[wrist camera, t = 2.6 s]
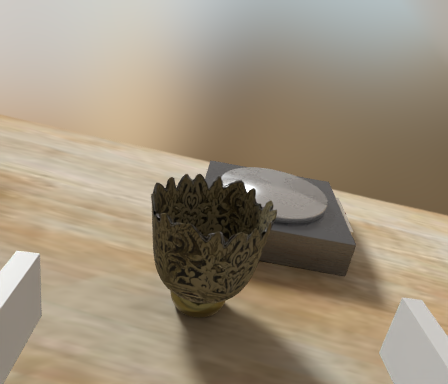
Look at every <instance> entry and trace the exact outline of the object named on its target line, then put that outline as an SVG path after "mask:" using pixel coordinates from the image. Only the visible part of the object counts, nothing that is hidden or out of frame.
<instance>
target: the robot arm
mask: <svg viewBox="0 0 448 384" xmlns="http://www.w3.org/2000/svg"><path fill="white" fill-rule="evenodd" d="M41 316H42V313H41V278H40V254H39V253H31V252H23V251H16V253H15V254H14V255H13V256H12V257H11V259H10V260H9V261H8V262H7V264H6V265H5V266H4V267H3V268H2V270H1V271H0V384H3V383H4V381H5V380H6V378H7V376H8V374H9V373H10V371H11V369H12V367H13V366H14V364H15V362H16V360H17V358H18V357H19V355H20V353H21V351H22V350H23V348H24V346H25V344H26V343H27V341H28V339H29V337H30V335H31V334H32V332H33V330H34V328H35V327H36V325H37V323H38V321H39V320H40V318H41ZM379 354H380V356H381V358H382V360H383V362H384V364H385V366H386V368H387V371H388V373H389V375H390V377H391V379H392V381H393V383H394V384H448V336H447V335H446V333H445V332H444V331H443V329H442V328H441V326H440V325H439V324H438V322H437V321H436V319H435V318H434V316H433V315H432V314H431V312H430V311H429V309H428V308H427V307H426V305H425V304H424V302H423V301H422V300H418V299H409V298H402V300H401V302H400V304H399V307H398V309H397V311H396V314H395V316H394V318H393V321H392V323H391V326H390V328H389V330H388V333H387V335H386V337H385V340H384V342H383V345H382V347H381V349H380V352H379Z"/></svg>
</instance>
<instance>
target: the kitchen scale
mask: <svg viewBox="0 0 448 384" xmlns="http://www.w3.org/2000/svg"><path fill="white" fill-rule="evenodd" d="M218 176H221V179H222V181H223V185H224V186H226V185H228V184H229V183H231V182H235V181H237V180H242V181H243V182H244V185H245V187H246V190H247V192H248V191H249V190H250V189H252V188H254V189H255V190H256V197H255V198H256V203H261V206H262V207H265V204H266V203H267V202H268V201H272V202H273V205H274V206H273V210H274V209H276V210H277V216H276V219H275V221H274V223H273V226H272V228H271V231H270V234H269V236H268V239H267V242H266V244H265V247H264V249H263V252H262V254H261V257H260V259H259V261H264V262H270V263H275V264H281V265H286V266H292V267H297V268H303V269H308V270H314V271H319V272H325V273H330V274H336V275H341V276H345V275H346V272H347V269H348V267H349V264H350V261H351V258H352V255H353V253H354V250H355V247H356V244H355V242H354V240H353V237H352V235H353V230H352V228H351V225H350V223H349V221H348V219H347V216H346V213H345V212H344V210H343V207H342V205H341V203H340V201H339V198H335V195H334V193H333V191H332V189H331V186H330V184H329V182H325V181H319V180H314V179H308V178H303V177H298V176H294V175H291V174H288V173H284V172H281V171H276V170H272V169H265V168H252V167H249V168H248V167H243V166H238V165H232V164H227V163H221V162H216V161H210V164H209V168H208V171H207V174H206V178H205V181H206V182H207V184H208V186H209V187H208V188H210V187H211V185H212V183H213V181H214V180H215V179H216V178H217V177H218ZM224 186H223V187H224ZM228 186H229V185H228ZM226 187H227V186H226Z"/></svg>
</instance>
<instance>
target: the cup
mask: <svg viewBox="0 0 448 384" xmlns="http://www.w3.org/2000/svg"><path fill="white" fill-rule="evenodd" d="M228 185H229V186H228ZM228 185H226V186H227V187H226V186H224V185H223V181H222V179H221V176H218V177H217V178H216V179H215V180H214V181H213V183H212V185H211V187H210V188H208V187H209V186H208V184H207V182H206V181H205V179H204V177H203V176H202V175H201V174H198V175H197V176H196V177H195V179H194V180H192V179H191V178H190V177H189V175H188V174H185V175H184V176H183V177H182V178H181V180H180V182H179V183H178V186H177V185H175V181H174V178H173V177H171V178H169V179H168V181H167V185H166V188H164V186H163V185H161V184H160V183H156V184H155V187H154V191H153V194H152V195H151V199H152V226H153V250H154V260H155V265H156V269H157V271H158V274H159V276H160V278H161V280H162V281H163V283H164V284H165V285H166V287H167V288H168V289H170V290H171V297H172V300H173V303H174V305H175V306H176V307H177V309H178V310H179V311H181V312H182V313H184V314H186V315H188V316H191V317H197V318H203V317H209V316H212V315H214V314H215V313H217V312H218V311H219V310H220V309H221V308H222V306H223V305H224V303H225V301H226V300H227V299H230V298H232V297H233V296H235V295H236V294H238V293H239V292H240V291H241V290H242V289H243V288H244V287H245V286H246V284H247V283H248V282H249V280H250V278H251V277H252V275H253V273H254V271H255V269H256V266H257V264H258V262H259V259H260V257H261V254H262V252H263V249H264V247H265V244H266V242H267V239H268V236H269V234H270V231H271V228H272V226H273V223H274V221H275V219H276V216H277V210H276V209H274V210H273V206H274V205H273V202H272V201H268V202H267V203H266V204H265V207H262V206H261V203H256V198H255V197H256V190H255V189H254V188H252V189H250V190H249V191H248V192H247V190H246V187H245V185H244V182H243V181H242V180H237V181H235V182H231V183H229V184H228ZM176 186H177V188H176ZM223 186H224V187H223Z"/></svg>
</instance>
